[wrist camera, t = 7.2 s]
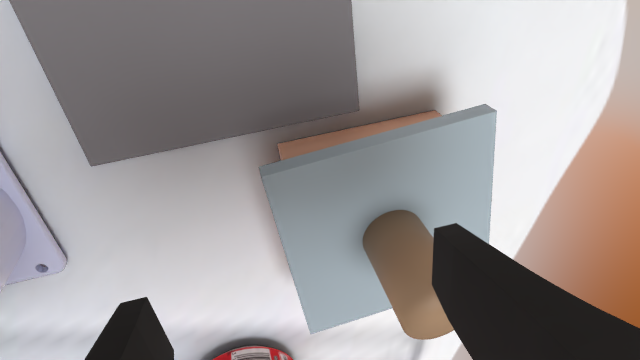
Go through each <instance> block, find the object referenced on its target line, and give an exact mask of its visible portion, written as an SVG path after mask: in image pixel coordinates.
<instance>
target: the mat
mask: <svg viewBox="0 0 640 360" xmlns="http://www.w3.org/2000/svg"><path fill="white" fill-rule="evenodd" d="M9 1H10V3H11V5H12V7H13V9H14V11H15V13H16V15H17V17H18V19H19V21H20V23H21V25H22V27H23V29H24V31H25V34H26V36H27V38H28V40H29V42H30V44H31V46H32V48H33V50H34V52H35V54H36V56H37V58H38V60H39V62H40V64H41V66H42V68H43V70H44V72H45V74H46V76H47V78H48V80H49V82H50V84H51V86H52V88H53V90H54V92H55V94H56V96H57V99H58V101H59V103H60V105H61V107H62V109H63V111H64V113H65V115H66V117H67V119H68V121H69V123H70V125H71V127H72V129H73V131H74V133H75V135H76V137H77V139H78V141H79V143H80V145H81V147H82V149H83V151H84V153H85V155H86V157H87V159H88V161H89V163H90V166H96V165H100V164H105V163H110V162H115V161H120V160H124V159H129V158H134V157H139V156H144V155H148V154H153V153H158V152H163V151H168V150H172V149H177V148H182V147H187V146H192V145H196V144H201V143H206V142H211V141H216V140H220V139H225V138H230V137H235V136H240V135H244V134H249V133H254V132H259V131H264V130H268V129H273V128H278V127H283V126H288V125H292V124H297V123H302V122H307V121H312V120H316V119H321V118H326V117H331V116H336V115H340V114H345V113H350V112H355V111H359V100H358V86H357V73H356V59H355V45H354V32H353V18H352V4H351V0H9Z"/></svg>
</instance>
